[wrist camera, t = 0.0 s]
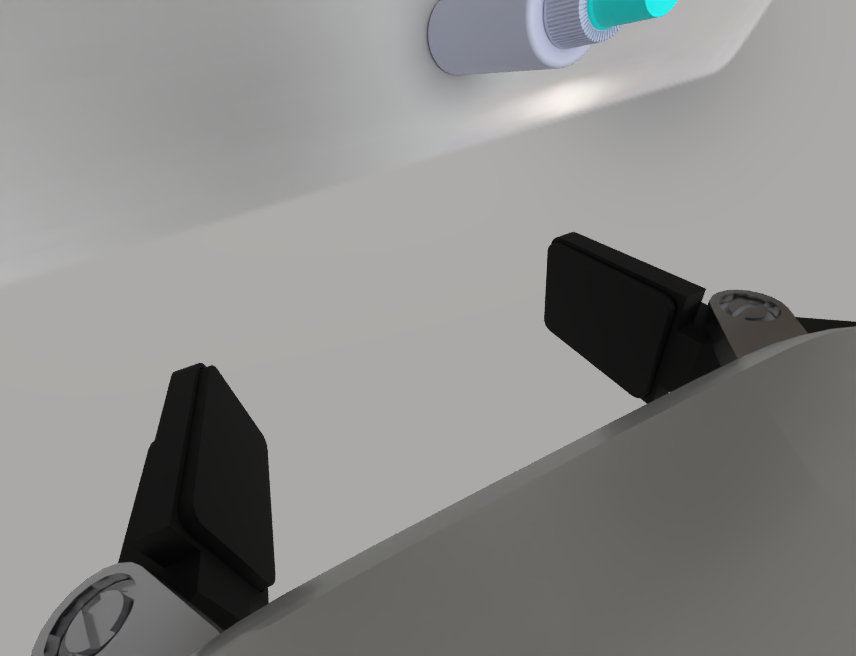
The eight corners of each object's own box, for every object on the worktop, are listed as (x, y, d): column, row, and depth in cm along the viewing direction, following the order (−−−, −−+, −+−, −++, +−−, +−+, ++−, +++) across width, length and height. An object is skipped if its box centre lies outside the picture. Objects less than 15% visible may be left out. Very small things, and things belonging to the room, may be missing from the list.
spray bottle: (421, 66, 34) (594, 44, 17) (432, -18, 31) (655, -145, 14) (475, 81, 37) (673, 75, 20) (490, 4, 34) (738, -80, 17)
